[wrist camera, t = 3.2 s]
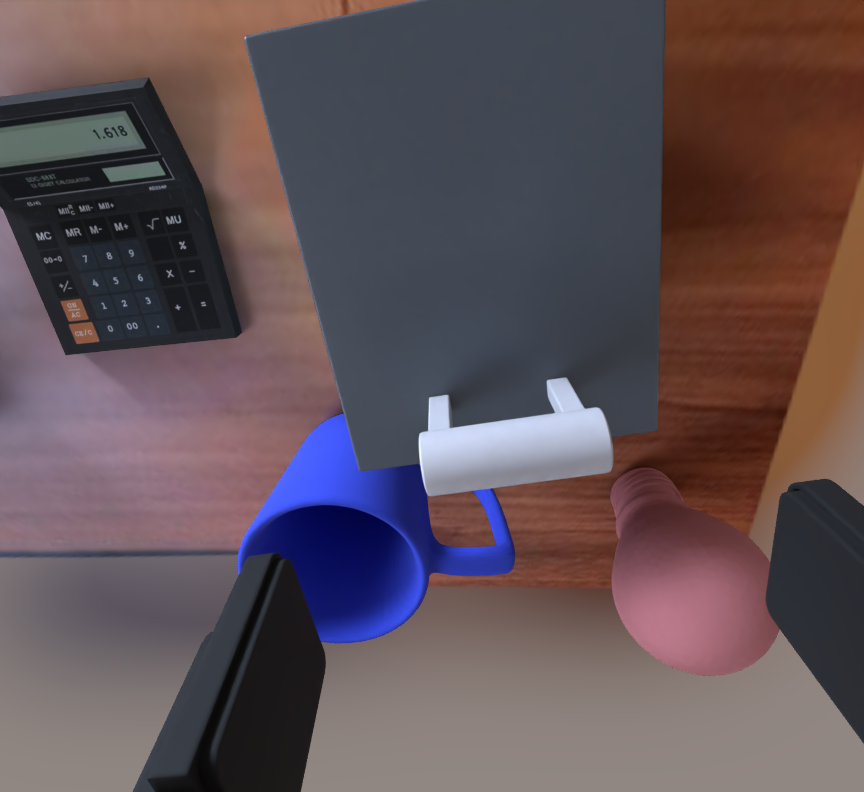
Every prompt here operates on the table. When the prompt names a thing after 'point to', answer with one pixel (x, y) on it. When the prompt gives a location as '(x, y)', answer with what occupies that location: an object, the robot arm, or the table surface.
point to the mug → (363, 538)
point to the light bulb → (687, 580)
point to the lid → (479, 226)
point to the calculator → (112, 219)
